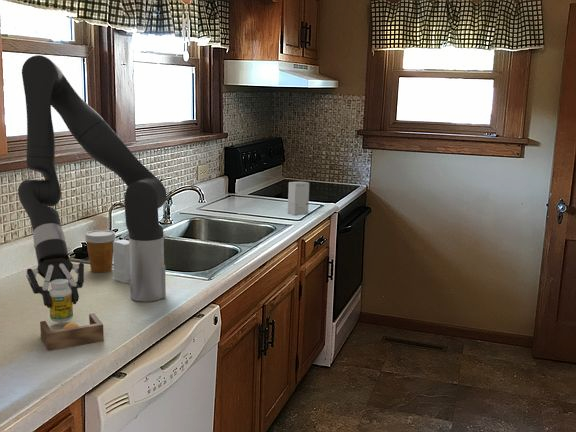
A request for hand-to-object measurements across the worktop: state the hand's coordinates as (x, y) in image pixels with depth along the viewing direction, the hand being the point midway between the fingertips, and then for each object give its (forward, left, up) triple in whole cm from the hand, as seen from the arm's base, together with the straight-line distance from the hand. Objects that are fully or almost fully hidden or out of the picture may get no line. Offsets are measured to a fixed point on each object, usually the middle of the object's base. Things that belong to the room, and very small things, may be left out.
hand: (62, 304), depth 155 cm
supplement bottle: (0, -2, -4) cm, 5 cm away
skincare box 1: (-19, -33, -6) cm, 38 cm away
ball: (-1, +9, -4) cm, 10 cm away
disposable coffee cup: (-13, -46, -6) cm, 48 cm away
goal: (-2, +9, -5) cm, 11 cm away
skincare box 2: (-107, -114, -6) cm, 156 cm away
